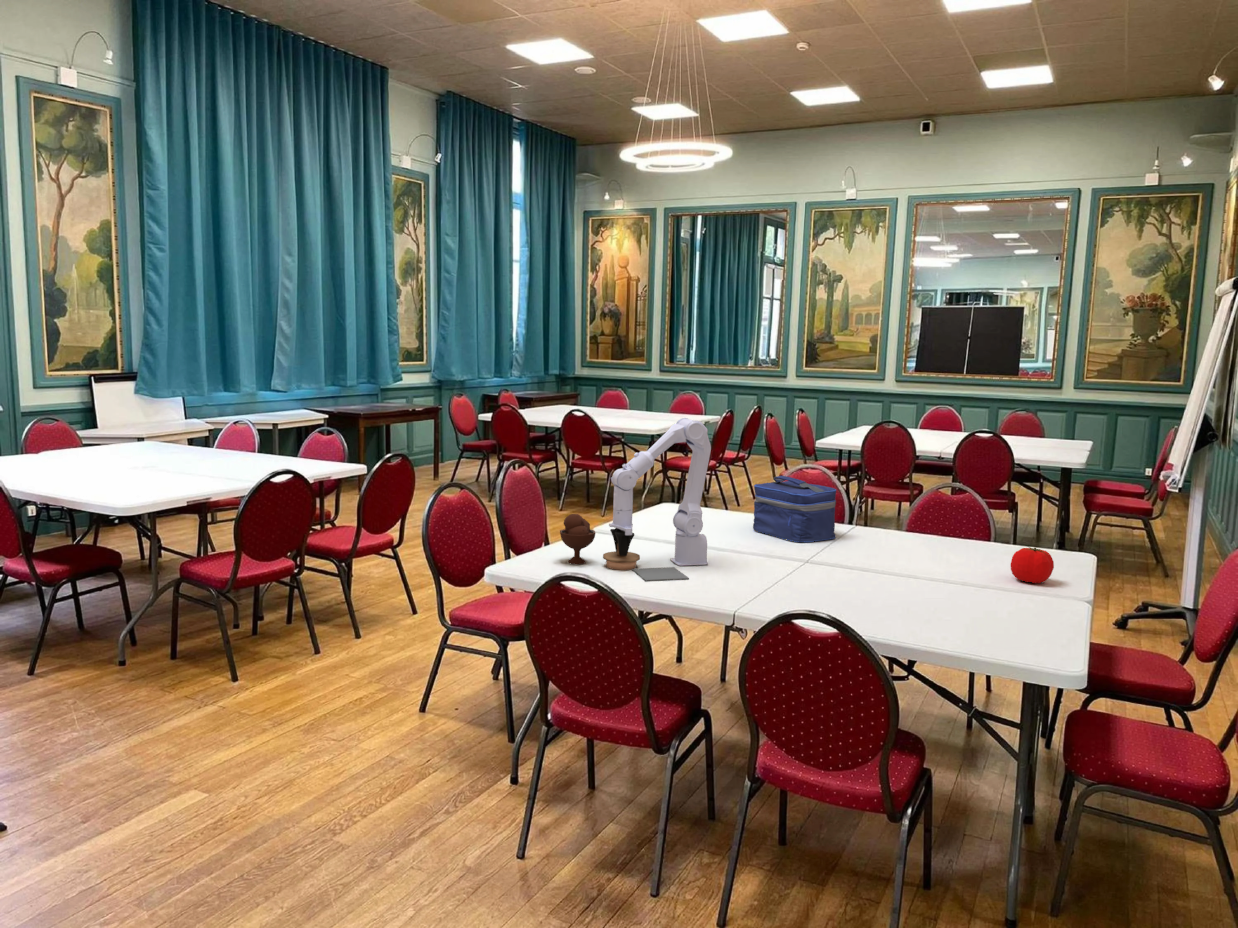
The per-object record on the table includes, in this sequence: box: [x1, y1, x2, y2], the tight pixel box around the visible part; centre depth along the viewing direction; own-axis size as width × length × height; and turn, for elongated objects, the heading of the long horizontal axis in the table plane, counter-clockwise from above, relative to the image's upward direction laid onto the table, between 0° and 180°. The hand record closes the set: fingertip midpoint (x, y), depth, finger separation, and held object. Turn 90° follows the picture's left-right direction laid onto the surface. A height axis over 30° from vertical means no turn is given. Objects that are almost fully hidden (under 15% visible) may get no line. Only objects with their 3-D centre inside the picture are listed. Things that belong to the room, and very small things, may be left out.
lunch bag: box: [752, 475, 837, 543], centre depth 327 cm, size 31×21×20 cm
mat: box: [631, 566, 690, 582], centre depth 264 cm, size 13×13×1 cm
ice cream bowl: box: [559, 513, 596, 566], centre depth 275 cm, size 11×11×15 cm
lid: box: [602, 544, 641, 563], centre depth 272 cm, size 11×11×4 cm
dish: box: [605, 560, 637, 571], centre depth 273 cm, size 9×9×2 cm
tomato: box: [1010, 545, 1055, 584], centre depth 268 cm, size 12×12×10 cm
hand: (621, 554), depth 272 cm, fingers open, 3 cm apart
